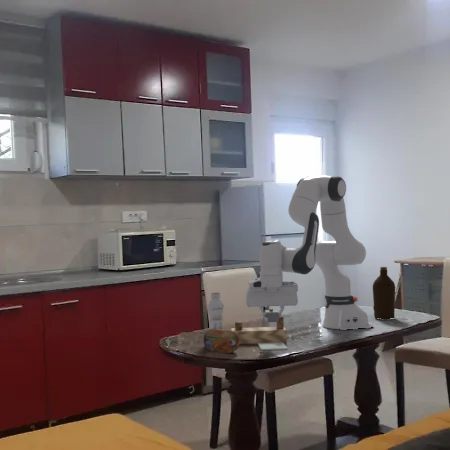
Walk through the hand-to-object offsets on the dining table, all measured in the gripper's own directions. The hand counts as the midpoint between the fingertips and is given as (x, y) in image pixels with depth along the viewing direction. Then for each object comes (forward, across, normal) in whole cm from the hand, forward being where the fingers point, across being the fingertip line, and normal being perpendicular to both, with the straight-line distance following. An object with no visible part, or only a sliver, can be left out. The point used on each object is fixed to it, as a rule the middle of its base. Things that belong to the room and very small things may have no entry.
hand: (271, 317), depth 225 cm
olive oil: (+11, -63, -52) cm, 83 cm away
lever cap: (+1, 0, 0) cm, 1 cm away
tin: (+12, +20, +4) cm, 23 cm away
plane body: (+12, +4, -11) cm, 17 cm away
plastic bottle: (+12, +21, -12) cm, 27 cm away
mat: (+12, 0, 0) cm, 12 cm away
